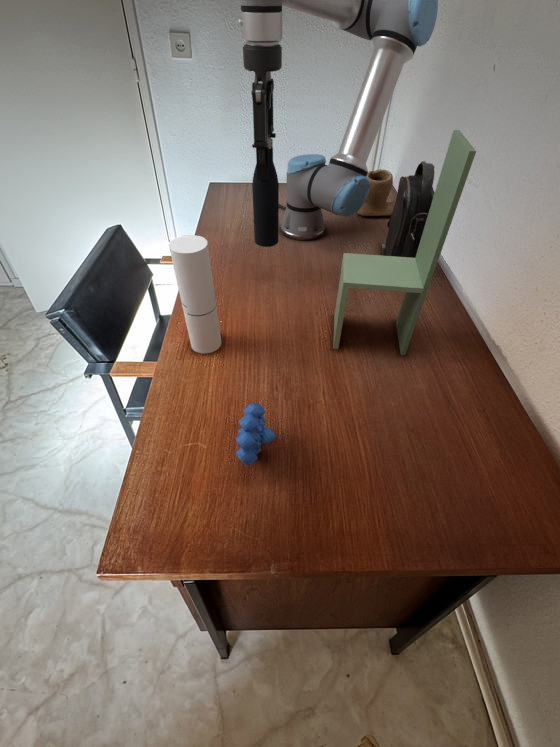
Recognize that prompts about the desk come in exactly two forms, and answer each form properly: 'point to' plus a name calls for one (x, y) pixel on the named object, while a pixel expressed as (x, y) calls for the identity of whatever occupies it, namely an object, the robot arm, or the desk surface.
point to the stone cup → (378, 194)
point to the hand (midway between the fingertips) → (265, 174)
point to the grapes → (252, 434)
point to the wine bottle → (266, 200)
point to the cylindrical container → (196, 291)
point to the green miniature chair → (418, 270)
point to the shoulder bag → (410, 212)
